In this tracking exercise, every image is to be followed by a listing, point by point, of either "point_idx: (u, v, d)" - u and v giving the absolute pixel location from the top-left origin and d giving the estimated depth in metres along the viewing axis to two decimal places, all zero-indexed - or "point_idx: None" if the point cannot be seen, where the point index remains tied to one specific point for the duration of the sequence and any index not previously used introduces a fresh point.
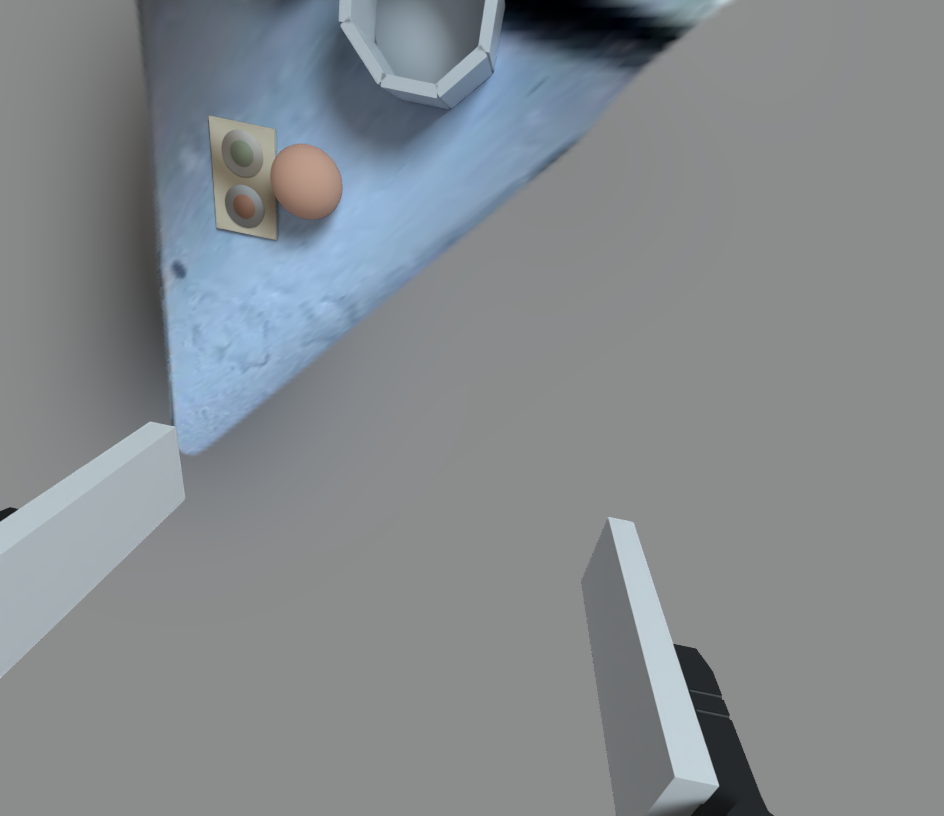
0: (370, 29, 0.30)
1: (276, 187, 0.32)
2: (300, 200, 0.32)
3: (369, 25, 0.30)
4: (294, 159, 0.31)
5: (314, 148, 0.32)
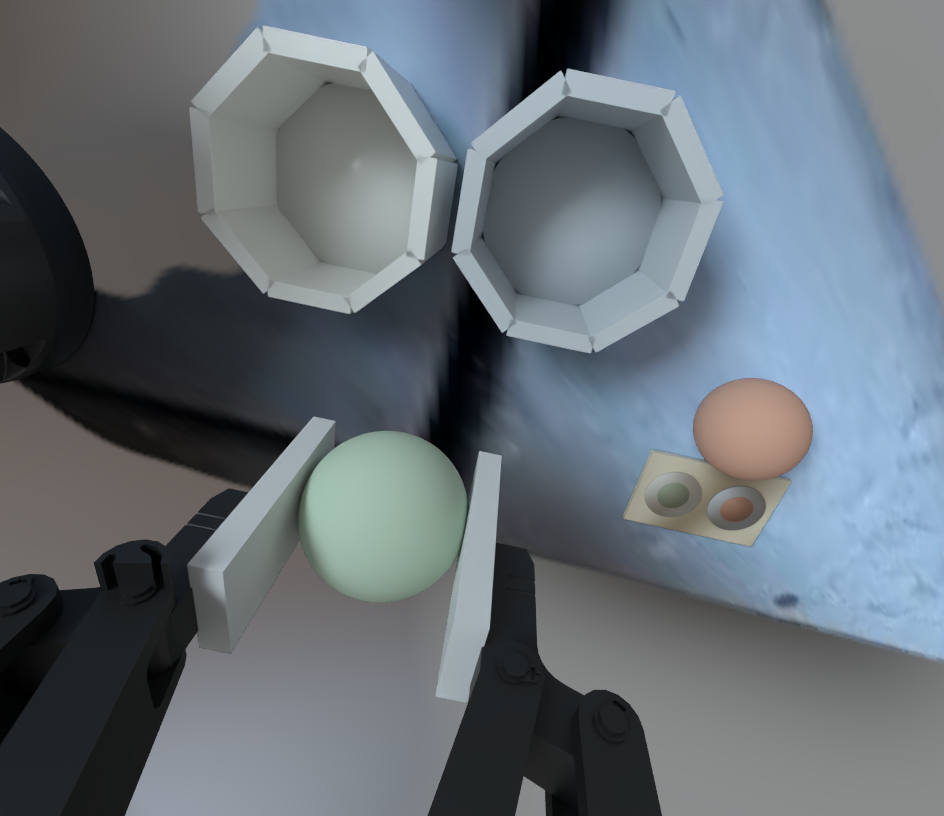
0: (573, 310, 0.22)
1: (766, 477, 0.21)
2: (798, 449, 0.20)
3: (569, 310, 0.22)
4: (735, 444, 0.21)
5: (711, 411, 0.22)
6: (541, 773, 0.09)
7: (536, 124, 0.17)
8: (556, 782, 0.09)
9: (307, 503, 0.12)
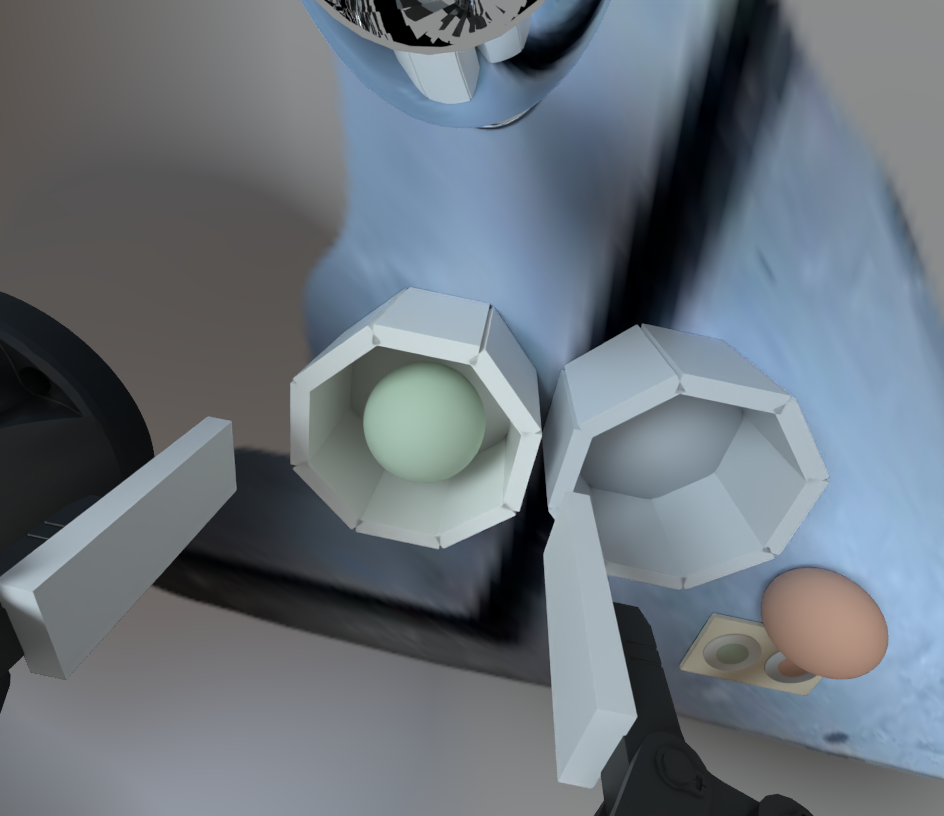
0: (649, 512, 0.22)
1: None
2: (876, 661, 0.21)
3: (646, 515, 0.22)
4: (813, 653, 0.21)
5: (785, 610, 0.22)
6: None
7: None
8: None
9: (375, 409, 0.17)
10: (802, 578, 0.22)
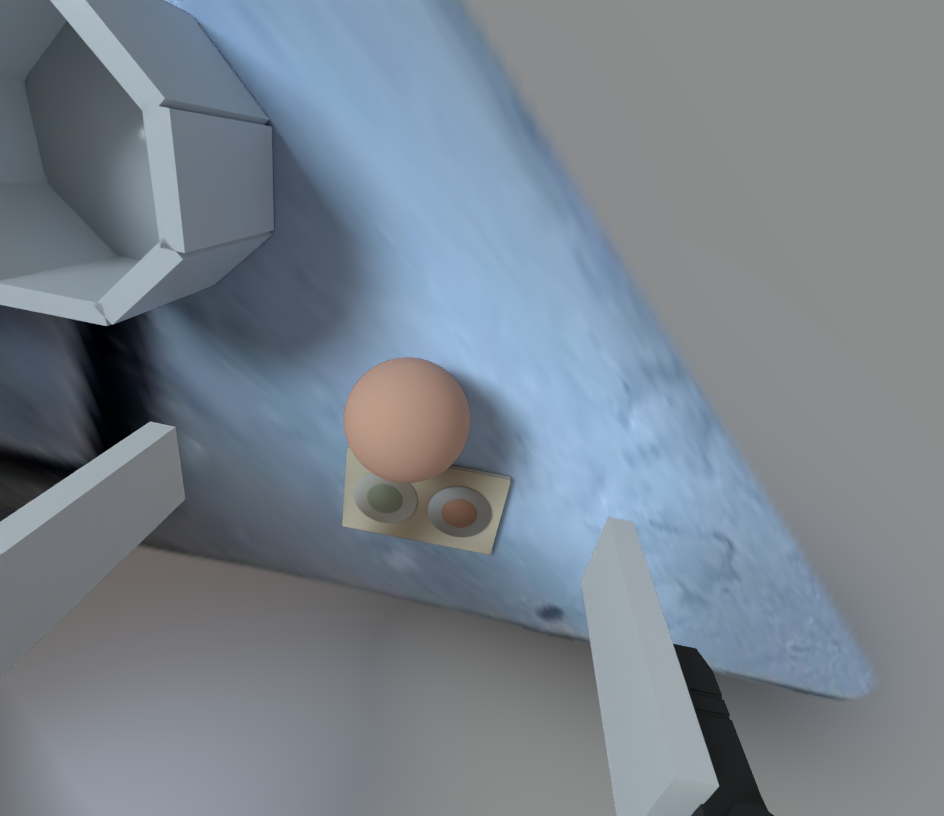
0: None
1: (406, 479, 0.17)
2: (425, 444, 0.16)
3: None
4: (357, 440, 0.17)
5: (348, 399, 0.18)
6: None
7: None
8: None
9: None
10: None
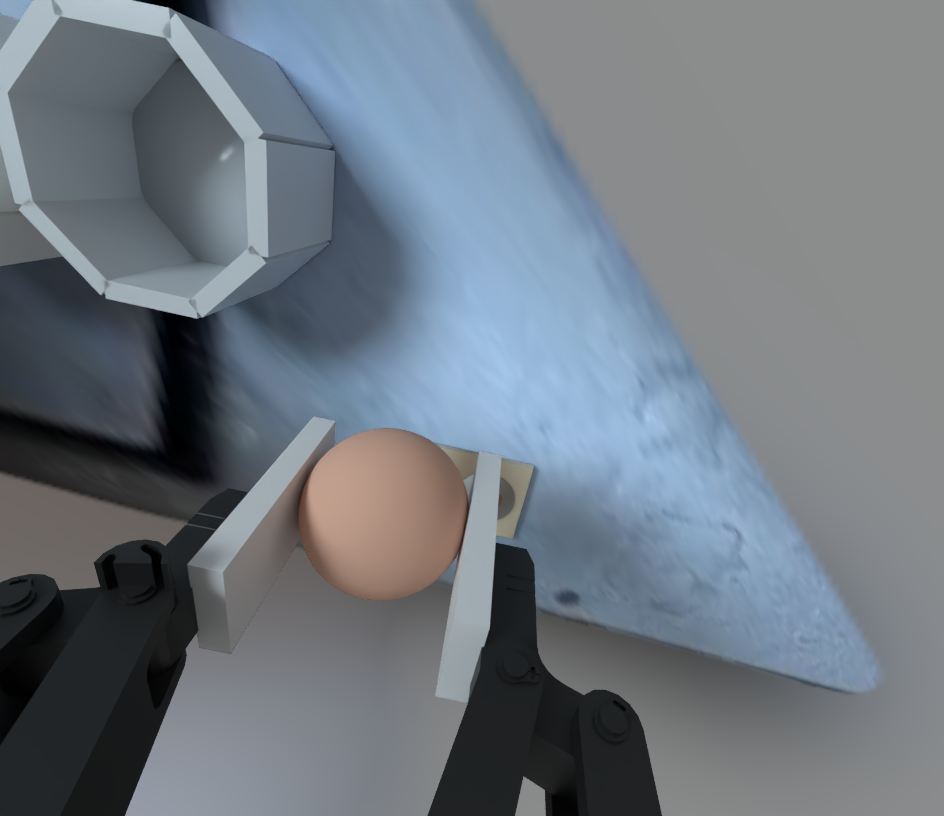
0: None
1: (379, 599, 0.13)
2: (403, 561, 0.12)
3: None
4: (311, 550, 0.12)
5: (304, 486, 0.13)
6: (541, 773, 0.09)
7: (92, 58, 0.15)
8: (556, 782, 0.09)
9: None
10: (347, 438, 0.14)
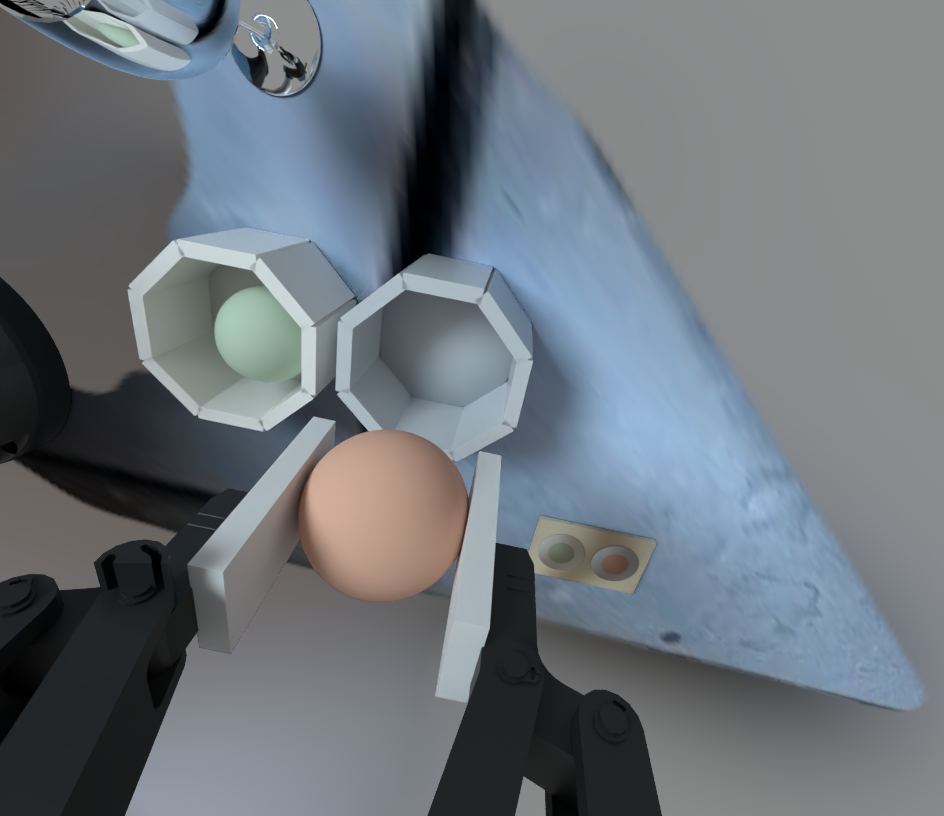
0: (454, 414, 0.27)
1: (379, 601, 0.13)
2: (403, 563, 0.12)
3: (450, 415, 0.26)
4: (311, 551, 0.12)
5: (304, 487, 0.13)
6: (541, 773, 0.09)
7: None
8: (556, 782, 0.09)
9: (222, 323, 0.22)
10: (347, 439, 0.14)
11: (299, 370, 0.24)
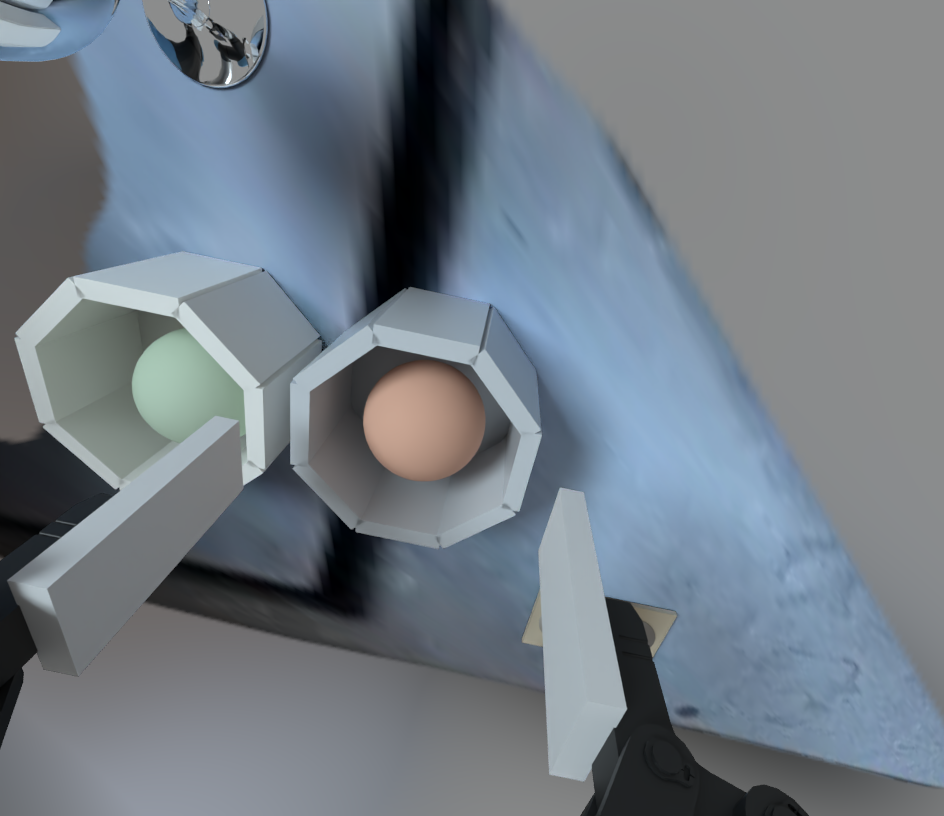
0: None
1: (427, 477, 0.18)
2: (447, 443, 0.17)
3: (437, 480, 0.22)
4: (379, 441, 0.17)
5: (367, 401, 0.18)
6: None
7: None
8: None
9: (138, 377, 0.17)
10: (395, 367, 0.19)
11: (241, 433, 0.19)
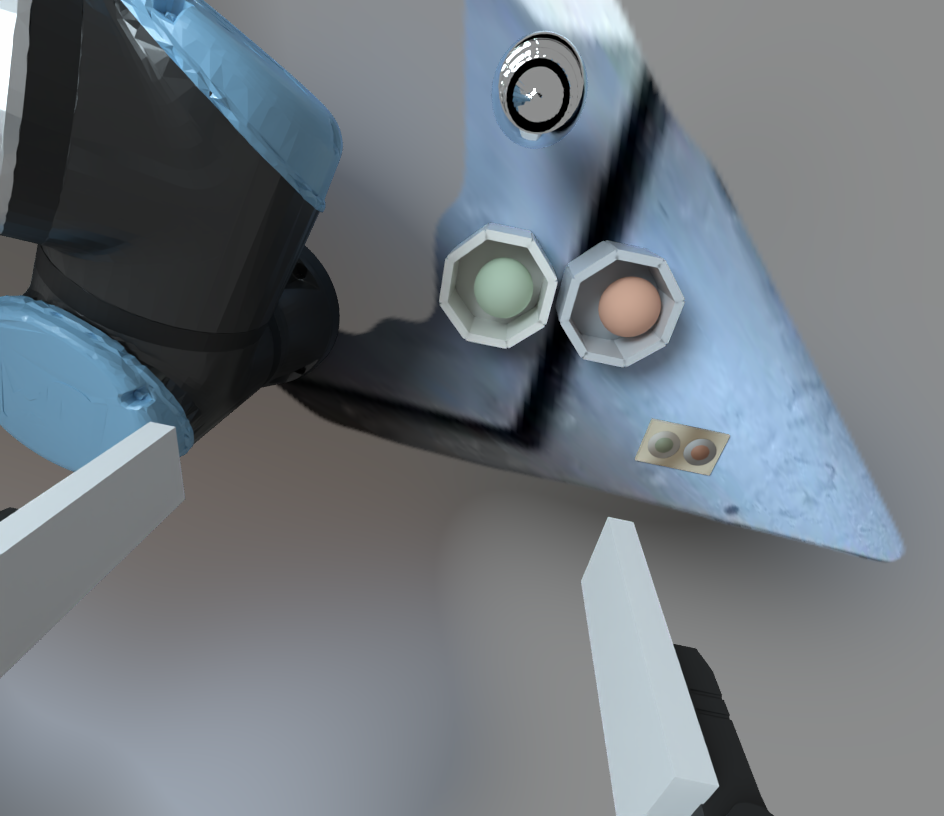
0: (611, 343, 0.42)
1: (644, 331, 0.38)
2: (658, 311, 0.37)
3: (610, 344, 0.42)
4: (630, 314, 0.37)
5: (613, 299, 0.37)
6: None
7: None
8: None
9: (486, 277, 0.37)
10: (617, 281, 0.38)
11: (520, 310, 0.39)
